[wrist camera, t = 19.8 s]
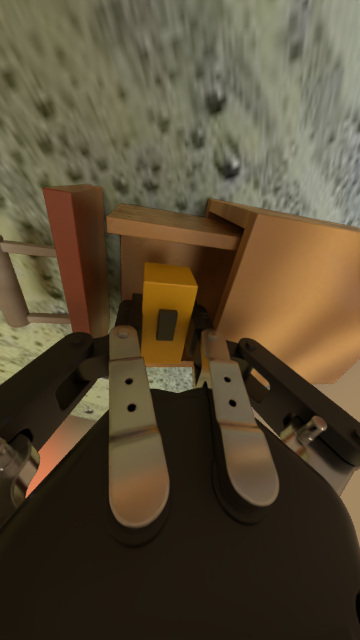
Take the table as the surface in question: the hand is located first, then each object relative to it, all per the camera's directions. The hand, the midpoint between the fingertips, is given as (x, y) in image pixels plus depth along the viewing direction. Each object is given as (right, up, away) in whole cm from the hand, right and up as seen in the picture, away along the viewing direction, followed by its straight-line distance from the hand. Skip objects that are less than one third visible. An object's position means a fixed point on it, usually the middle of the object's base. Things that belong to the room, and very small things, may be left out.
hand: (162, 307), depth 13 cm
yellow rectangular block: (0, 0, 0) cm, 0 cm away
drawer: (-3, +4, +6) cm, 7 cm away
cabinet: (+10, +4, +9) cm, 14 cm away
